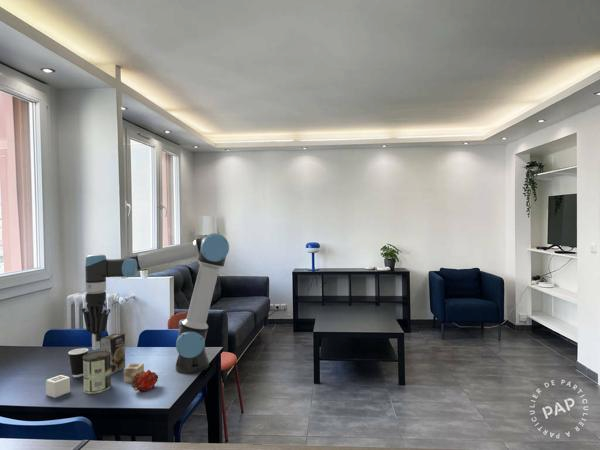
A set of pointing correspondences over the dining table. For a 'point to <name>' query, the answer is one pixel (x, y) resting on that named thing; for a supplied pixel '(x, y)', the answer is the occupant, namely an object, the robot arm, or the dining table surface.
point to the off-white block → (57, 386)
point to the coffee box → (115, 350)
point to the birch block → (132, 371)
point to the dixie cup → (77, 361)
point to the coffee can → (97, 372)
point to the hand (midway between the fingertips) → (96, 348)
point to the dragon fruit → (144, 381)
